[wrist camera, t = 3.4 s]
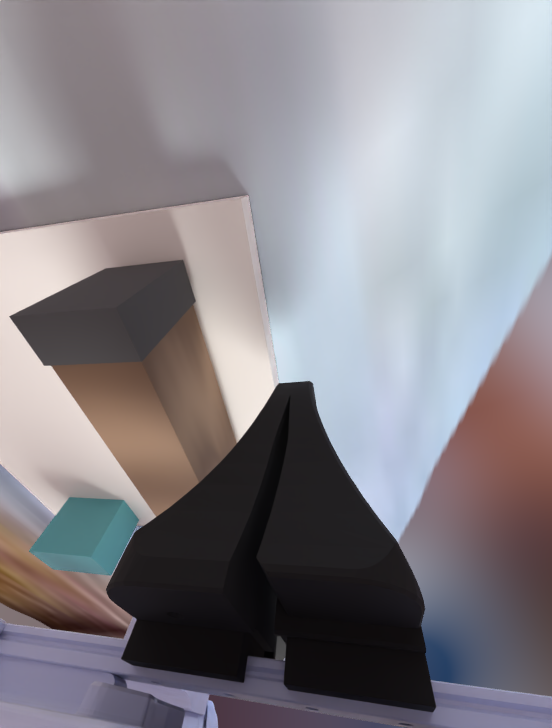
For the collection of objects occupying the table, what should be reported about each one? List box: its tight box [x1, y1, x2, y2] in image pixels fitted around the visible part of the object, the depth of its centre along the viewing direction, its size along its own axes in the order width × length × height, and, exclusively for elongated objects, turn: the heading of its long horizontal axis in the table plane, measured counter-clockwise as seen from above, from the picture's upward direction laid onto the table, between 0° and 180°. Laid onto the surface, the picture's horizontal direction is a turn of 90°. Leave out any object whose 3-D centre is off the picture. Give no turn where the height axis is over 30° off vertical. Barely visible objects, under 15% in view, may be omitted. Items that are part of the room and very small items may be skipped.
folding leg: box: [9, 260, 237, 517], centre depth 13 cm, size 16×3×5 cm, turn 8°
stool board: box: [0, 195, 279, 575], centre depth 17 cm, size 23×22×5 cm
